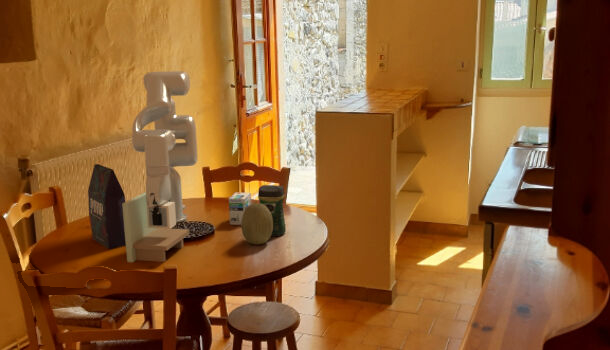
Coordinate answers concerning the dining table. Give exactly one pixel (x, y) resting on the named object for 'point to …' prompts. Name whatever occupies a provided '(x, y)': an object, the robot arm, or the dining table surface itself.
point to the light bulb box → (238, 206)
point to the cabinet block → (163, 216)
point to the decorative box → (106, 207)
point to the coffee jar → (274, 206)
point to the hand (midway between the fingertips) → (161, 221)
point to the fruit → (257, 224)
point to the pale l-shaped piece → (147, 234)
